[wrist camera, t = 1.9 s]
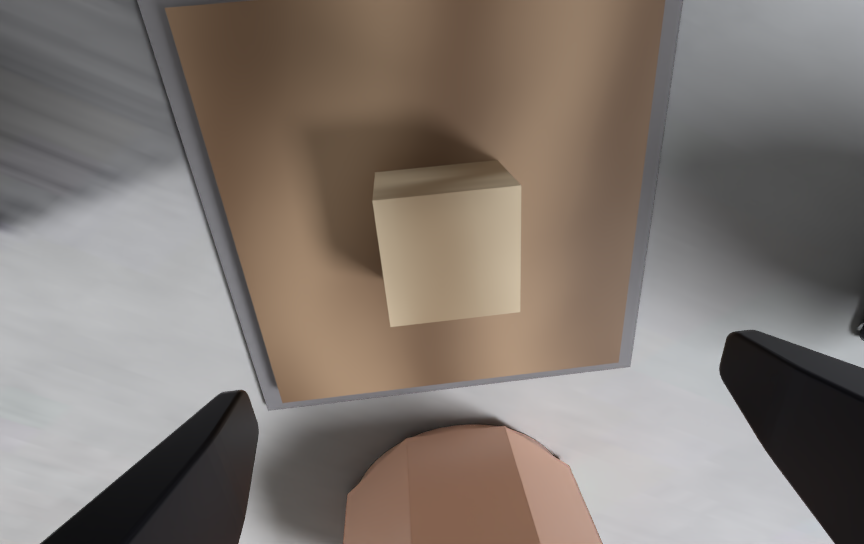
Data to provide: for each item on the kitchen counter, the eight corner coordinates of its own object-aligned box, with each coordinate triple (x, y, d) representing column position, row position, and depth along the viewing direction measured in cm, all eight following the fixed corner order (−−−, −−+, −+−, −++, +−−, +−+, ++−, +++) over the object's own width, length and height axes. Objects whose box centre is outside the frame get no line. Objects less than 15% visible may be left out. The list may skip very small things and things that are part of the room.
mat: (687, -73, 14) (693, -76, 13) (626, 362, 21) (630, 366, 20) (133, -28, 13) (127, -29, 13) (269, 405, 20) (268, 410, 20)
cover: (655, -31, 14) (743, -56, 10) (610, 351, 20) (655, 414, 17) (176, 9, 13) (102, -3, 10) (286, 389, 19) (264, 463, 16)
